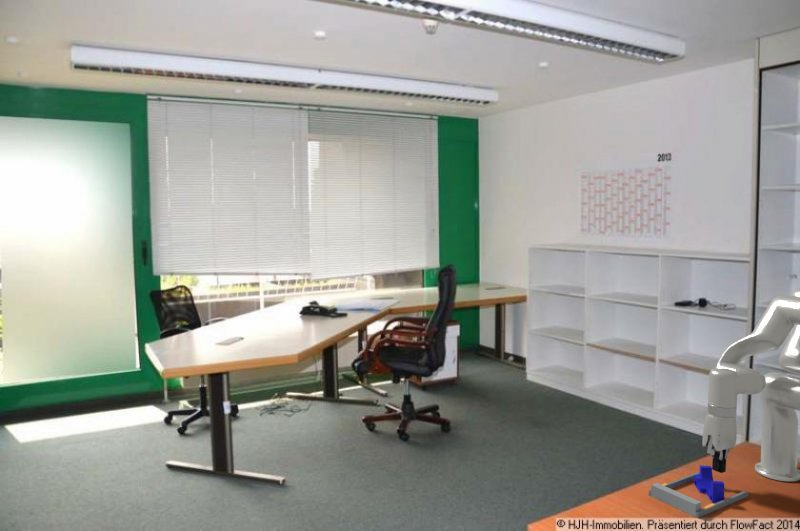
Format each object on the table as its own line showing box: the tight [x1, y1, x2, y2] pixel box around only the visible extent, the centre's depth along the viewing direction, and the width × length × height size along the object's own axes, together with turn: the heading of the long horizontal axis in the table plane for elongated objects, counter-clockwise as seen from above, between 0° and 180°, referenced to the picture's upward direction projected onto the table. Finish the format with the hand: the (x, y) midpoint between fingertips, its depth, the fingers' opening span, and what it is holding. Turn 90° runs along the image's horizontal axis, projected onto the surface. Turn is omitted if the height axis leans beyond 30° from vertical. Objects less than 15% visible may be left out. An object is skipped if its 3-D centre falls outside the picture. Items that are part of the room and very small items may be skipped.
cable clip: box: [693, 465, 725, 504], centre depth 175 cm, size 12×4×6 cm, turn 170°
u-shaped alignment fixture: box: [648, 471, 749, 519], centre depth 174 cm, size 23×16×4 cm
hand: (718, 470), depth 178 cm, fingers closed
